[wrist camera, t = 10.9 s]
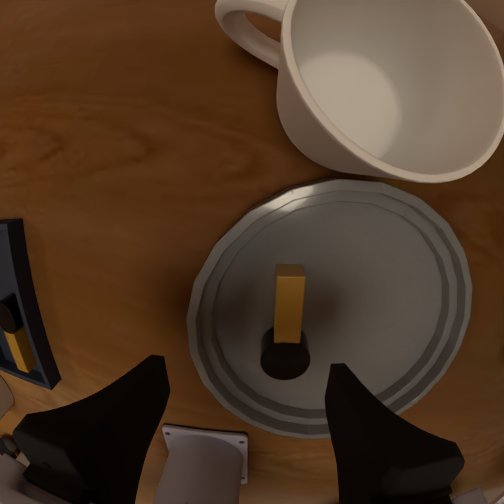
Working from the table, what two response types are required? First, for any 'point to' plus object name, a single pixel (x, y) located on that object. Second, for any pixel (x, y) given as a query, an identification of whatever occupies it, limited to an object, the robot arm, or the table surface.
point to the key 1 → (16, 333)
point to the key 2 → (286, 327)
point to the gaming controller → (8, 446)
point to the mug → (381, 83)
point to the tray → (23, 307)
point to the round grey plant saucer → (331, 300)
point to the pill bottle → (5, 398)
